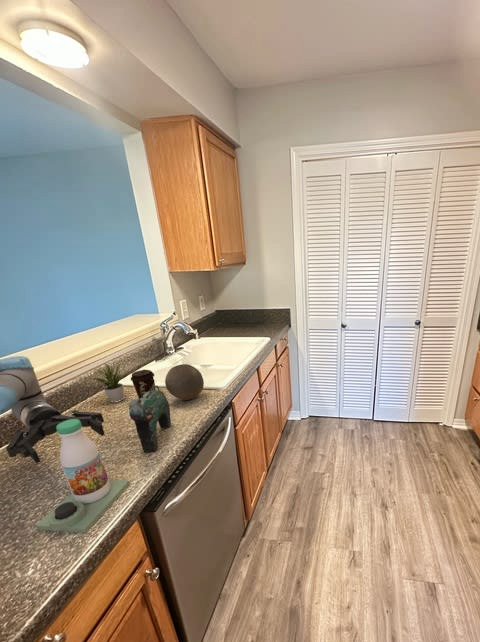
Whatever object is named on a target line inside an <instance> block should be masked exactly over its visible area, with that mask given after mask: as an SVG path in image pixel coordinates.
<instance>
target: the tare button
mask: <svg viewBox="0 0 480 642" xmlns="http://www.w3.org/2000/svg"><path fill="white" fill-rule="evenodd" d="M57 506H58V505H57ZM57 506H56V507H57ZM56 507H55V508H56ZM55 508H54V509H55ZM75 512H76V508H75V506H74V503H72V502H67V503H63V504H61V505H60V506H58V507H57V508H56V509H55V514H56V517H57V519H59V520H62V519H65V518H68V517H70V516H71V515H73V514H74V513H75Z"/></svg>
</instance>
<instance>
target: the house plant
mask: <svg viewBox="0 0 480 642" xmlns="http://www.w3.org/2000/svg"><path fill="white" fill-rule="evenodd" d="M125 362H126V360H124V361H122V362H120V363H116V364H115V365H114V366H112V365H110V366H109V364H107V363H106V362H105V363H104V366H105V369H103V368H101V367H99V366H98V367H97V368H98V369H97V368H96V369H95V368H91V370H93V371H96V372H98V373H99V374H100V375H101V376H102V377H103V378H102V377H97V376H96V377H95V376H90V377H87V378H88V379H93V380H95V382H94V383H93V385H95V384H97V383H101V384H104V385H106V386H105V387H103V390H104V392H105V394H106V396H107V398H108V400H109V402H110V401H113V402H115V401H119V400H122V399H123V398H124V399H125V391H124V384H123V383H120V381H121V380H122V379H124V376H125V374H120V370H122V368H123V367H122V368H121V366H122V364H123V363H125ZM117 365H118V366H117ZM116 366H117V367H116ZM115 368H116V369H115ZM114 371H115V372H114ZM96 372H95V374H96V375H98V373H96Z"/></svg>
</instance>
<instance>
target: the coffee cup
mask: <svg viewBox="0 0 480 642" xmlns="http://www.w3.org/2000/svg"><path fill="white" fill-rule="evenodd" d="M154 377H155V373H154V372H153V371H152V370H150V369H140V370H137V371H133V372H132V373H131V376H130V381H131V382H132V384H133V387H134V391H135V392H136V395H137V399H141V398H142V396H141V393H140V387H141V385H142V384H146V386H145V385H143V386H142V391H141V392H142V395H144V394H145V393H147V392H148V391H150V389H151V388H152V387H153V386H156V382H155V379H154ZM155 390H157V389H156V387H155V388H153V389H152V391H155Z"/></svg>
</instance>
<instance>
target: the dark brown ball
mask: <svg viewBox="0 0 480 642" xmlns="http://www.w3.org/2000/svg"><path fill="white" fill-rule="evenodd" d="M166 373H167V374H166V375H165V380H164V382H165V383H164V384H165V388H166V389H167V391H168V393H169V394H170V395H171V396H173V397H174V398H176V399H178V400H181V401H190V400H193V399H196V398H197V397H199V395H200V394H202V392H203V390H204V386H205V385H204V384H205V382H204V378H203V374H202V373H201V372H200V371H199V370H198V369H197V367H196V366H193V365H192V364H188V363H182V364H177V365H175V366H172V367H171V368H170V369H169V370H168V372H166Z"/></svg>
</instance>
